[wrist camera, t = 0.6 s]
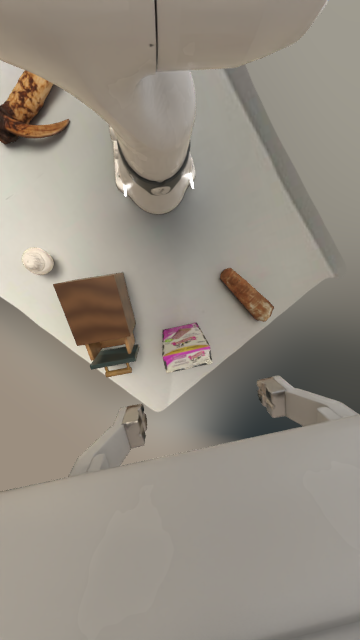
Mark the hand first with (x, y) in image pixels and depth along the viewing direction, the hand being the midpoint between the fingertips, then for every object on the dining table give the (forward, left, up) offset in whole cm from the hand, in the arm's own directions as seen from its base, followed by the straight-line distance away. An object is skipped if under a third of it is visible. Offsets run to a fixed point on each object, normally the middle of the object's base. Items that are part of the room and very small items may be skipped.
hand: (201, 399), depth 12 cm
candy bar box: (+12, +1, -40) cm, 42 cm away
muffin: (-14, -30, -40) cm, 52 cm away
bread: (+3, +21, -40) cm, 46 cm away
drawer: (+10, -18, -39) cm, 45 cm away
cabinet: (-1, -18, -40) cm, 44 cm away
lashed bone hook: (-41, -21, -40) cm, 61 cm away
